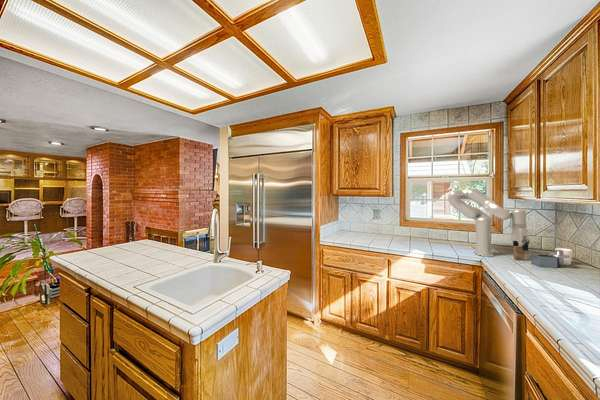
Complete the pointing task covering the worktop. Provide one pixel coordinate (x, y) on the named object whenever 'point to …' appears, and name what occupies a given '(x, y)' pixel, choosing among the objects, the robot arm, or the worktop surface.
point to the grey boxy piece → (549, 259)
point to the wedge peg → (518, 253)
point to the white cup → (568, 252)
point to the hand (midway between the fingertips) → (520, 249)
